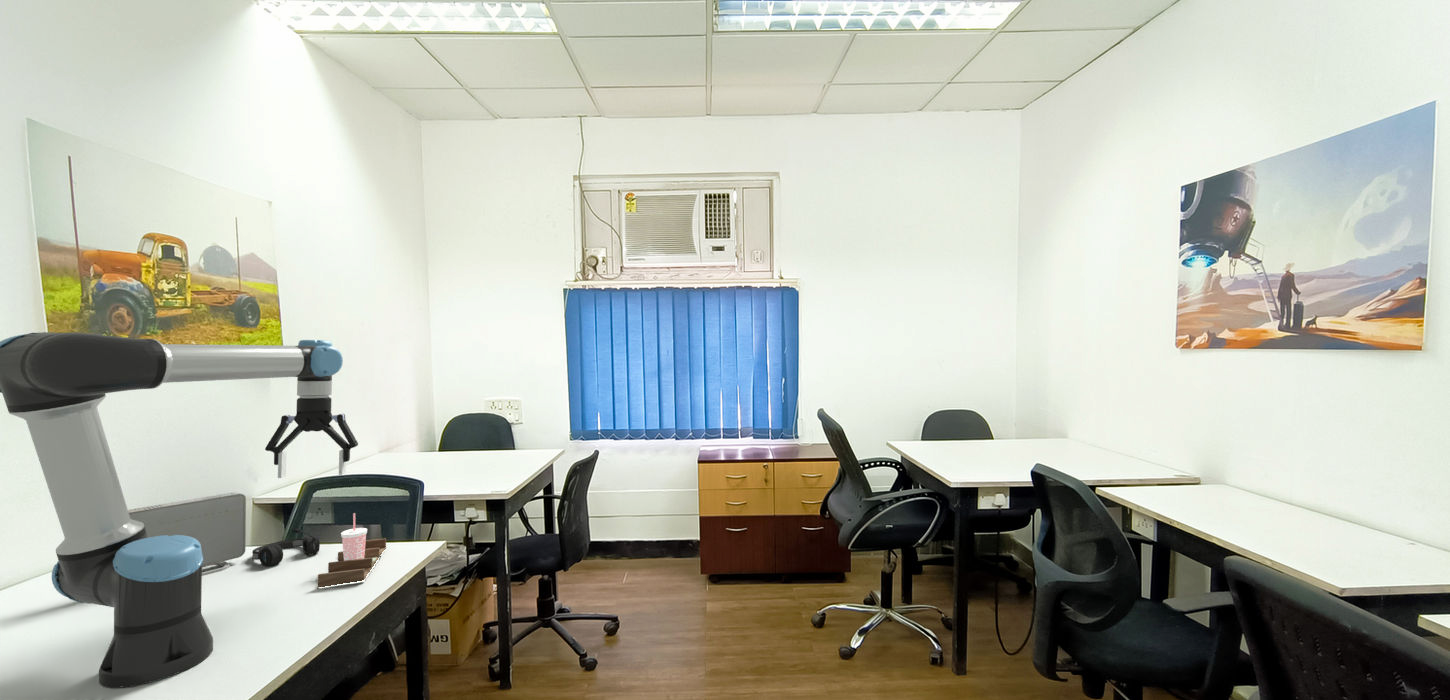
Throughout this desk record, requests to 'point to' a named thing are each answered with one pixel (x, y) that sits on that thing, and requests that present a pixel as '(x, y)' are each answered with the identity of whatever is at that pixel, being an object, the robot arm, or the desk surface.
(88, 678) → the desk surface
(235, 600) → the desk surface
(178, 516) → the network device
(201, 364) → the robot arm
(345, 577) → the slot rack
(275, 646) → the desk surface
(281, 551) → the headset
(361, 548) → the beverage cup
